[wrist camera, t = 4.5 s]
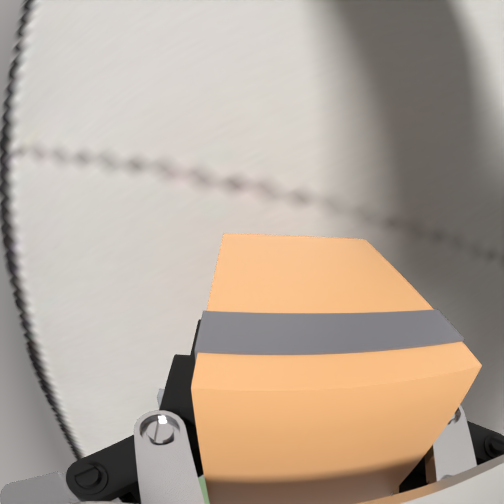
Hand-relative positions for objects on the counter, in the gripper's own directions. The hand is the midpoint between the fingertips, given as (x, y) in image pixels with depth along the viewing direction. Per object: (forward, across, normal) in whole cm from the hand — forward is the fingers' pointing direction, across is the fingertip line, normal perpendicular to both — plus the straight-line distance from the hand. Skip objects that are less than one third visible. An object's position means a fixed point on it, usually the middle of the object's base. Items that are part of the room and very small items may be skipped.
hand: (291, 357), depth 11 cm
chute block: (+2, 0, 0) cm, 2 cm away
